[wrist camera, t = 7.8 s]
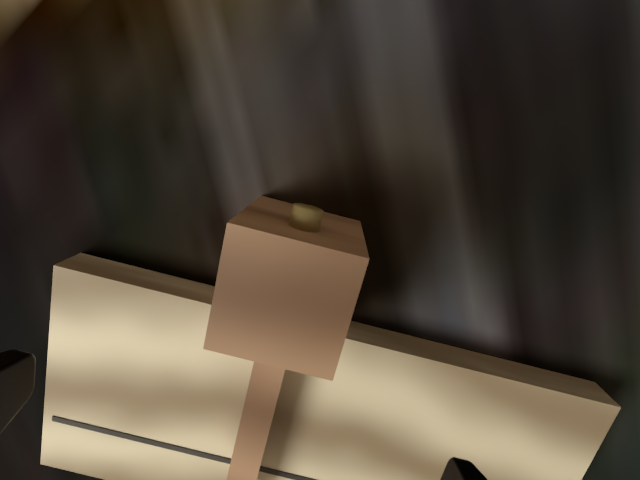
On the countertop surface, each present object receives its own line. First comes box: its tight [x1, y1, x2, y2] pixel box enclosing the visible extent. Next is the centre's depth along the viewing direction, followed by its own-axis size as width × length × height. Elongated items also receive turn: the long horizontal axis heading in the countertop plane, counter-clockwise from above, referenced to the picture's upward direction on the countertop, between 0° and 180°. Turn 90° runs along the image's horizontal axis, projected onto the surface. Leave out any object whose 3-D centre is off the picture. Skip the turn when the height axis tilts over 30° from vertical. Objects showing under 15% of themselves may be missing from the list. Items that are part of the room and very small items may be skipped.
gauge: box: [203, 196, 369, 480], centre depth 18 cm, size 16×5×6 cm, turn 166°
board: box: [40, 253, 621, 480], centre depth 21 cm, size 12×28×2 cm, turn 76°
